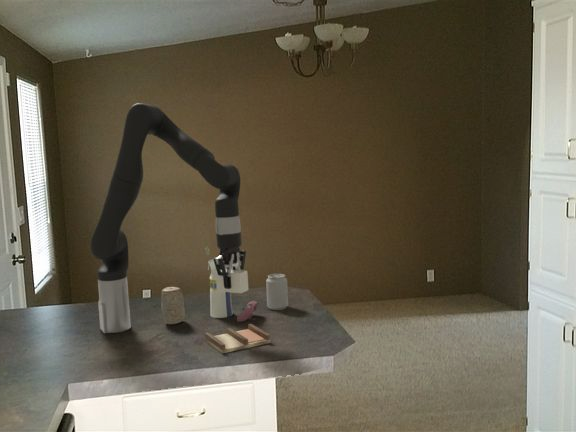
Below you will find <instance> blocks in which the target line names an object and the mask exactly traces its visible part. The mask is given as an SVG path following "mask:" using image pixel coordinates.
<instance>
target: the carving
mask: <svg viewBox="0 0 576 432" xmlns="http://www.w3.org/2000/svg"><path fill="white" fill-rule="evenodd" d="M160 299H161V301H160V302H161V303H160V305H161V312H162V317H163V319H164V323H165V324H166V325H176V324H179V323H182V322H183V321H184V319H185V316H186V315H185V304H184V297H183V293H182V290H181V288H180V287H177V286H169V287H168V286H167V287H165V288H163V289H162V290H161V298H160Z"/></svg>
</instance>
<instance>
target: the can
mask: <svg viewBox="0 0 576 432" xmlns="http://www.w3.org/2000/svg"><path fill="white" fill-rule="evenodd" d="M267 277H268V278H267V279H266V280H265V281H266V282H265V284H266V286H265V287H266V306H267V308H268V309H269V310H272V311H283V310H285V309H287V307H288V306H289V296H288V295H289V294H288V293H289V292H288V289H289V288H288V278H286V275H285V274H283V273H272V274H269V275H267Z"/></svg>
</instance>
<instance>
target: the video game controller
mask: <svg viewBox="0 0 576 432" xmlns="http://www.w3.org/2000/svg"><path fill="white" fill-rule="evenodd" d="M258 307H259V302H258V301H254V300H251V301H250V302H248V303H247V305H246V307H245V308H243V309H244V310H243V311H242V312H241V313H240V314H238V316H237V317H236V321H237V323H242V322H246V320H248V321H250V320H251V318H253V317H254V316H255V313H256V310H258Z"/></svg>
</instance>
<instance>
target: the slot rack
mask: <svg viewBox="0 0 576 432" xmlns="http://www.w3.org/2000/svg"><path fill="white" fill-rule="evenodd" d="M204 341H205V342H206V343H208V344H209V345H210V346H211V347H213V348H214V349H215V350H216V351H218V352H219V353H220V354H227V353H231V352H234V351H236V352H237V351H240V350H245V349H249V348H254V347H257V346H261V345H268V344H270V343H271V335H270V333H268V332H266V331H265V330H263V329H261V328H259V327H257V326H256V325H254V324H252V323H249V324H247V328H246V329H242V330H237V331H236V330H234V329H233V328H231V327H229V328H226V333H222V334H217V335H213V334H212V333H210V332H204Z"/></svg>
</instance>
